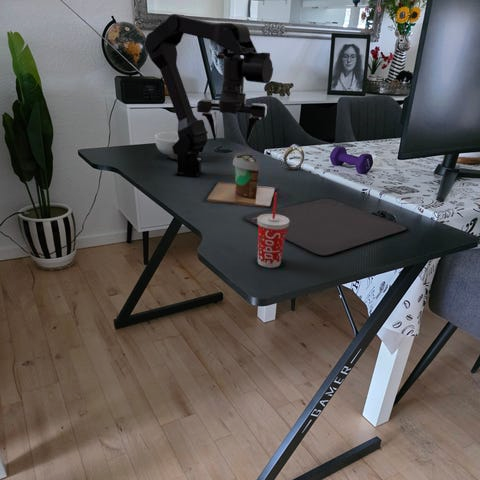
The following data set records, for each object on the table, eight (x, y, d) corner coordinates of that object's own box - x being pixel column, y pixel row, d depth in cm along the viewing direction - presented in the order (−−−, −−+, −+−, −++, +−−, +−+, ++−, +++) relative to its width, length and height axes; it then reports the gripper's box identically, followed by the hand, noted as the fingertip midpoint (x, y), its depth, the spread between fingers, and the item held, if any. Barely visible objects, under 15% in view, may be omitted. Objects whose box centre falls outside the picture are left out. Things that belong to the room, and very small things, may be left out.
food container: (228, 186, 130) (230, 151, 125) (249, 187, 131) (252, 151, 125) (234, 200, 120) (236, 162, 114) (256, 200, 121) (259, 162, 115)
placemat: (206, 201, 119) (206, 199, 119) (218, 183, 134) (218, 181, 133) (269, 207, 118) (269, 205, 118) (274, 189, 132) (275, 187, 132)
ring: (284, 170, 151) (286, 145, 147) (281, 167, 154) (284, 143, 149) (303, 170, 152) (307, 146, 148) (301, 168, 155) (304, 143, 151)
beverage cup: (249, 264, 88) (254, 194, 80) (260, 253, 93) (266, 186, 85) (278, 272, 86) (286, 200, 79) (288, 260, 91) (297, 191, 83)
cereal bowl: (146, 158, 154) (145, 136, 151) (171, 149, 167) (170, 129, 164) (190, 165, 149) (190, 143, 145) (212, 156, 162) (212, 135, 159)
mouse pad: (327, 198, 127) (328, 197, 127) (409, 228, 110) (409, 228, 110) (241, 217, 110) (241, 216, 110) (322, 257, 93) (322, 256, 92)
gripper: (192, 79, 114) (192, 143, 122) (265, 84, 112) (260, 150, 120) (201, 76, 123) (201, 136, 132) (269, 81, 121) (264, 142, 130)
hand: (230, 141), depth 128 cm, fingers open, 9 cm apart
